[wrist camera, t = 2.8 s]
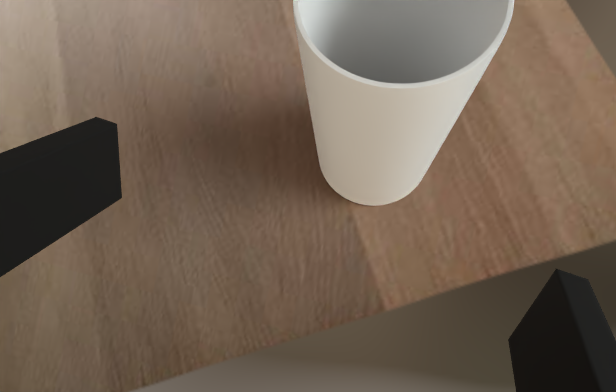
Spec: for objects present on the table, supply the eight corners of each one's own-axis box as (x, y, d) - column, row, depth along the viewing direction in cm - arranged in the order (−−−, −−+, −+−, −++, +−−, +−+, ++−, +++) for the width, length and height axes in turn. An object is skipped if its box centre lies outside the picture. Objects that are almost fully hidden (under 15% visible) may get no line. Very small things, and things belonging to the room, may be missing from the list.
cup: (434, 202, 29) (536, 79, 14) (321, 209, 29) (294, 98, 14) (421, 100, 31) (495, -104, 16) (316, 108, 32) (289, -80, 16)
